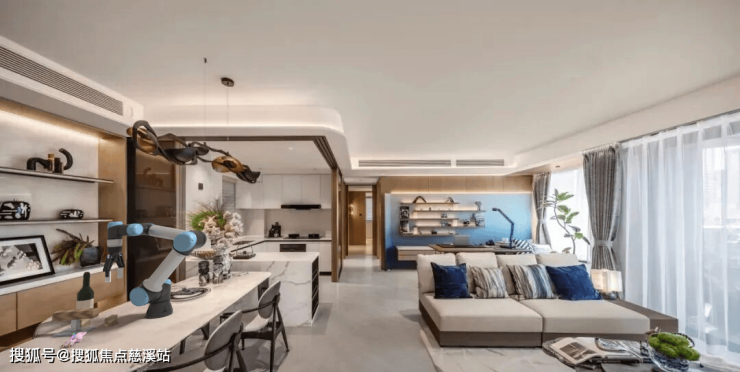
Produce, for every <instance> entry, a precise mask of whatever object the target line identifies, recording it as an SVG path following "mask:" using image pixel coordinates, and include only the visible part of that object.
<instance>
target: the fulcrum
mask: <svg viewBox="0 0 740 372" xmlns="http://www.w3.org/2000/svg"><path fill="white" fill-rule="evenodd" d="M96 327H97V326H96V325H92V326H91V325H88V326H86V327H80V319H79V320H70V327H68V328H65V329H63V330H61V331H58V332H57V333H54V334H53V335H52V338H62V337H63V338H64V337H71V336H72V334H73V333H74V334H75V335H76V334H77V333H80V332H83V333H84V332H86V334H87V333H88V332H91V331H93V330H94V329H95V330H96V329H97V328H96Z"/></svg>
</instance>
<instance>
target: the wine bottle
mask: <svg viewBox="0 0 740 372" xmlns="http://www.w3.org/2000/svg"><path fill="white" fill-rule="evenodd" d="M90 285H91V272H90V271H84V273H83V274H82V287H81V288H80V289H79V291H78V292H77V293H76V303H75V304H76V306H75V307H76V308H75V309H89V308H94V303H95V298H94V297H95V291H94V290H93V288H92V287H91V286H90Z"/></svg>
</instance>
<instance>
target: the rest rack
mask: <svg viewBox="0 0 740 372" xmlns="http://www.w3.org/2000/svg"><path fill="white" fill-rule="evenodd" d="M118 318H119V314H118V313H115V314H114V313H113V314H111V315H109V316H107V317H105V318H104V328H107V327H112V326H114V325H116V324H118V321H119V320H118ZM90 324H91V319H80V327H89V326H91V325H90Z"/></svg>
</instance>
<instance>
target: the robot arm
mask: <svg viewBox="0 0 740 372" xmlns="http://www.w3.org/2000/svg"><path fill="white" fill-rule="evenodd" d="M106 228H107V229H106V230H107V232H106V233H107V237H106V238H107V239H106V245H107V247H106V253H107V254H106V255H105V260H104V263H103V268H102V272H103V273H104V283H106V284H107V283H111V281H112V280H111V279H112V271H111V269H112V267H113V265H114V264H115V263H116V266H117V271H116V275H117V276H116V278H117V279H123V277H124V273H123V272H124V268H126V267H125V266H126V263H125V260H124V256H123V237H136V236H150V237H154V238H155V237H156V238H161V239H167V240H172V241H173V244H172V246H171V251H170V252H169V253H168V255H167V256H166V257H165V258H163V261H162V262H161V263H160V264H159V265H158V267H157V268H156V269H155V271H154V272H153V273H152V274H151V275H150V277H148V278H145V279H143V281H142V282H141V284H139V286H136V287H135V288H132V290H131V291H130V292H129V301H130V302H131V304H132V305H133V306H135V307H143V306H146V305H148V306H147V309H146V312H145V318H147V319H159V318H165V317H167V316H170V315H172V314H173V313H174V308H173V305H172V302H171V291H172V281H171V279H169V277H170V276H171V275H172V274H173V272H174V271H175V270H176V269H177V268H178V266H179V265H180V264H181V263H182V261H183V260H184V259H185V258H187V257H189V256H191V255H192V253H193V251H195V250H196V249H201V248H202V247H204V246H205V245H206V243H207V240H208V237H207V235H206V233H205V232H203V231H201V230H194V229H190V230H185V229H180V228H174V227H168V226H163V225H157V224H154V223H151V222H146V223H145V222H144V223H128V224H124V223H123V221H109V222H108V223H107V227H106Z"/></svg>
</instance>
